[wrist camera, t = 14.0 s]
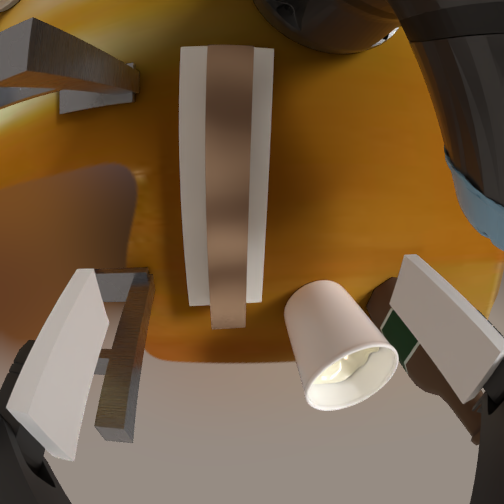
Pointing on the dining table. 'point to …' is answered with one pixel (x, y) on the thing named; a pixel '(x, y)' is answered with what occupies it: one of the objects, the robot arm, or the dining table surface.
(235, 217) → the walnut bar
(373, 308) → the beer bottle
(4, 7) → the travel mug
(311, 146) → the dining table surface
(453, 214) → the dining table surface
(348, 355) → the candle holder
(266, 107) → the grey mat
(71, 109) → the hook rack
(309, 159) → the dining table surface
